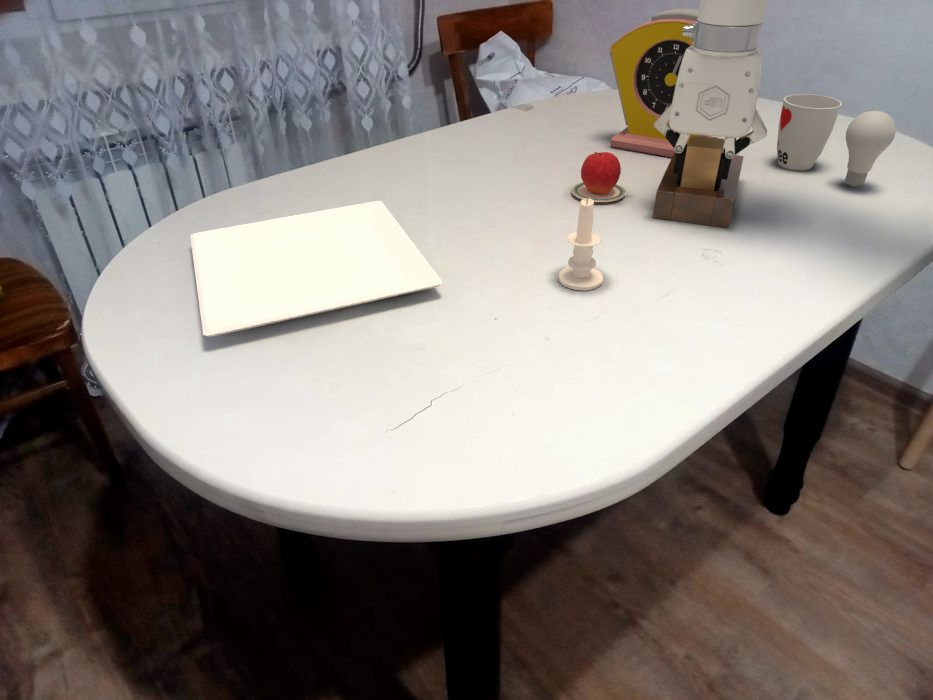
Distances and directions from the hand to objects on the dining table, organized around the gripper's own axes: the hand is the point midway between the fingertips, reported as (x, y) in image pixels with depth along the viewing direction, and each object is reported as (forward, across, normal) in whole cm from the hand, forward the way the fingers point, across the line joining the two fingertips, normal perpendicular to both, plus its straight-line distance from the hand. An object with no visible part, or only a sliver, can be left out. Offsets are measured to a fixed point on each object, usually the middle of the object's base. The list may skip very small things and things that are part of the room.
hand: (699, 179), depth 91 cm
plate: (+5, -42, -34) cm, 54 cm away
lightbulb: (+4, +21, +16) cm, 27 cm away
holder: (+4, 0, +4) cm, 6 cm away
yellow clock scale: (+4, -8, +25) cm, 26 cm away
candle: (+4, -10, -25) cm, 27 cm away
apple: (+5, -14, +1) cm, 15 cm away
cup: (+4, +13, +23) cm, 27 cm away
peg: (+3, 0, 0) cm, 3 cm away
